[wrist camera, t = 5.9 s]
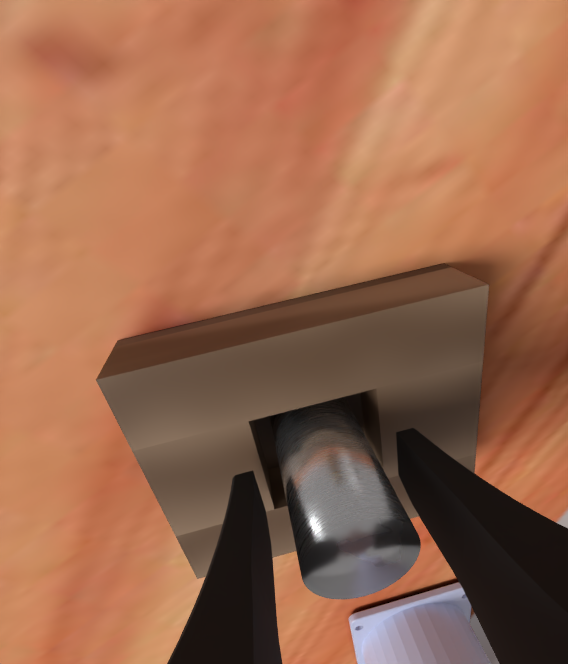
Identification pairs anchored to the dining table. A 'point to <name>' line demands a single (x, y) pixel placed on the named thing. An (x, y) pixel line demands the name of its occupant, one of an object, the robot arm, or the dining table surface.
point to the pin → (341, 503)
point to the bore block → (297, 390)
